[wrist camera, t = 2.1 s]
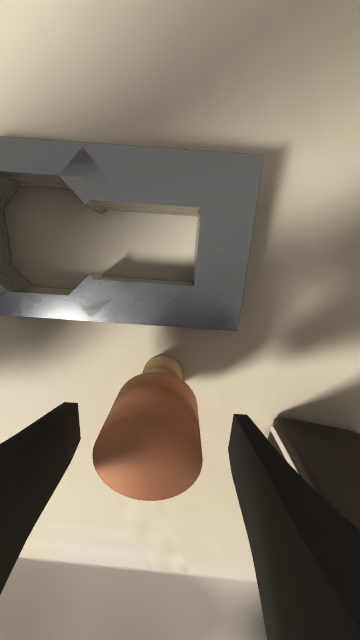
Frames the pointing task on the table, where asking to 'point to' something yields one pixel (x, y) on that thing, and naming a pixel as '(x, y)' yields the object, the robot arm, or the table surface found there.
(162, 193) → the keyhole plate
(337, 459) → the battery charger
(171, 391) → the peg
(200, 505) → the table surface
